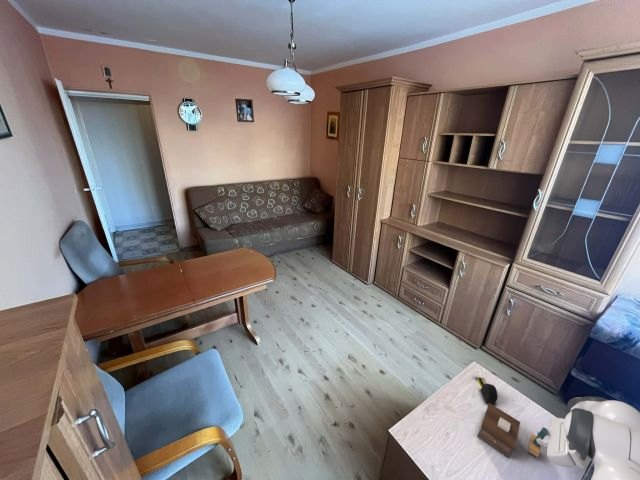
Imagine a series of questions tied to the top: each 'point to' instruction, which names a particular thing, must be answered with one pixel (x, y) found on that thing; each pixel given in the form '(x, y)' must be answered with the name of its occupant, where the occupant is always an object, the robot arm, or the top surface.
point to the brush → (533, 445)
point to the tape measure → (488, 392)
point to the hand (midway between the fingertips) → (537, 437)
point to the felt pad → (504, 424)
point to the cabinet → (498, 430)
